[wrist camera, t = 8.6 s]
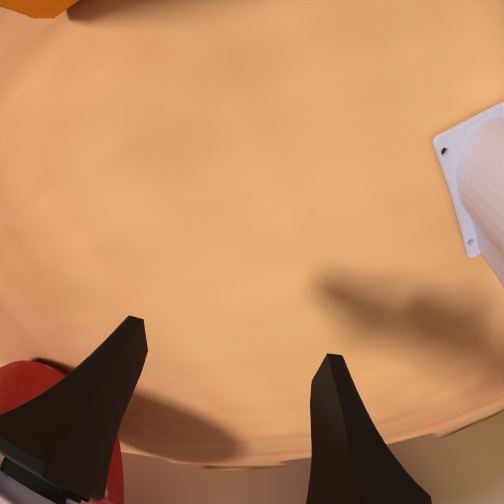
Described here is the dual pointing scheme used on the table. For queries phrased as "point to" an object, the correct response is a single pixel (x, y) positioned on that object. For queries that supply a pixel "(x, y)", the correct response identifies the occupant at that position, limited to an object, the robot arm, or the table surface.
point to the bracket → (38, 7)
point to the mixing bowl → (36, 382)
